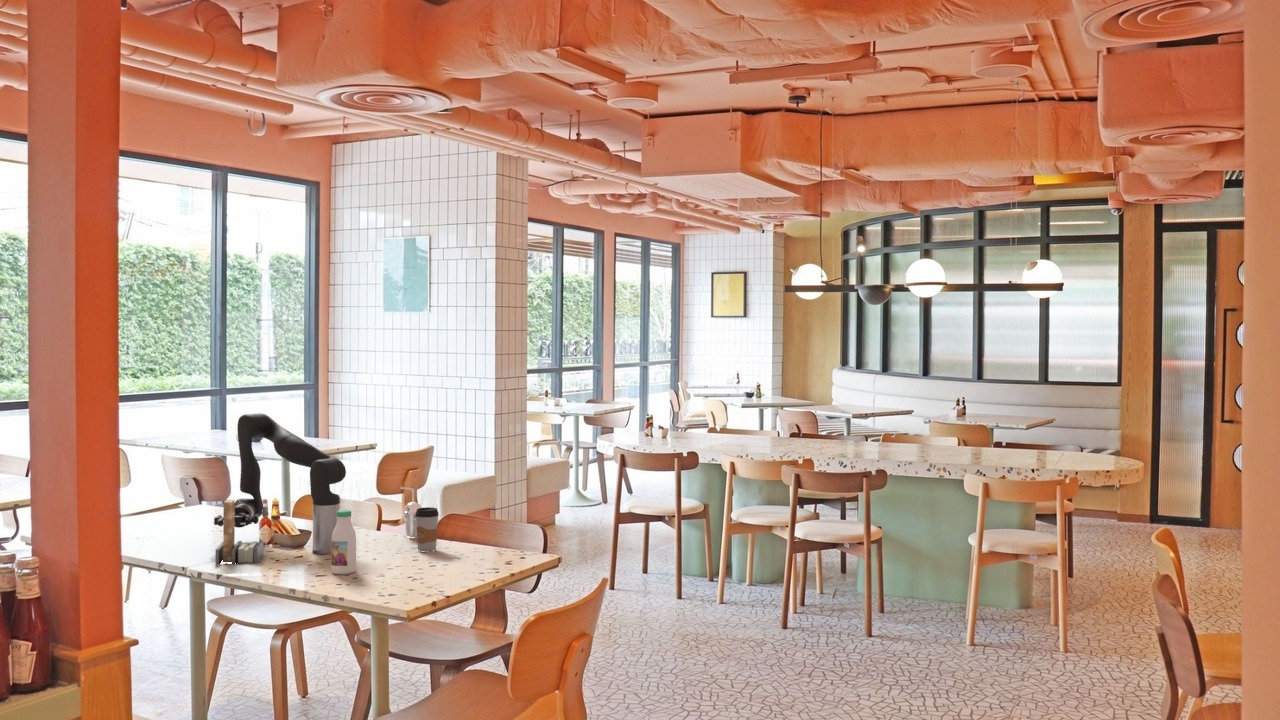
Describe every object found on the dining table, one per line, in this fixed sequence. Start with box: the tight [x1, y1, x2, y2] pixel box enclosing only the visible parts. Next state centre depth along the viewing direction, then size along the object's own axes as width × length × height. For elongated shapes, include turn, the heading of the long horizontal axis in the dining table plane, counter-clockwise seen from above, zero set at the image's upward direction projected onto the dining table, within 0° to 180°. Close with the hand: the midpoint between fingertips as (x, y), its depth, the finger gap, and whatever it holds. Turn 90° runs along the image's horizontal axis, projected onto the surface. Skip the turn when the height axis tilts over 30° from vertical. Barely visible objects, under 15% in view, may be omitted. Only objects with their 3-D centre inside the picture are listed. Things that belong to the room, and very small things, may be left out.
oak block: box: [222, 499, 236, 562], centre depth 327 cm, size 2×6×20 cm, turn 14°
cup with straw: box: [398, 486, 423, 540], centre depth 373 cm, size 8×9×20 cm
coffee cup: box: [415, 506, 440, 552], centre depth 350 cm, size 8×8×15 cm
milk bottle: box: [330, 509, 357, 575], centre depth 315 cm, size 8×8×20 cm
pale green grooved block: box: [238, 540, 259, 562], centre depth 329 cm, size 5×10×5 cm, turn 14°
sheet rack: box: [215, 539, 264, 565], centre depth 328 cm, size 13×14×6 cm
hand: (233, 523), depth 336 cm, fingers open, 8 cm apart
